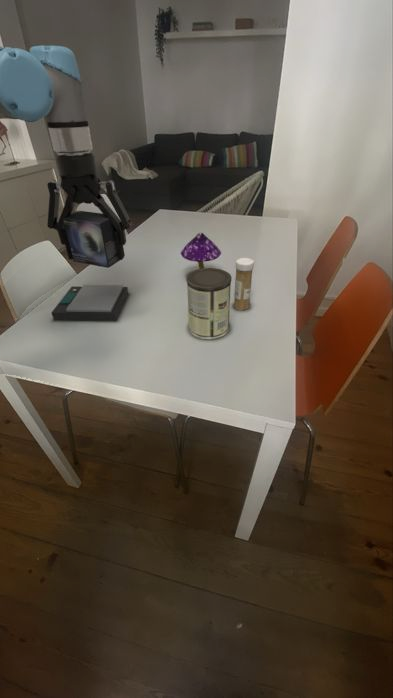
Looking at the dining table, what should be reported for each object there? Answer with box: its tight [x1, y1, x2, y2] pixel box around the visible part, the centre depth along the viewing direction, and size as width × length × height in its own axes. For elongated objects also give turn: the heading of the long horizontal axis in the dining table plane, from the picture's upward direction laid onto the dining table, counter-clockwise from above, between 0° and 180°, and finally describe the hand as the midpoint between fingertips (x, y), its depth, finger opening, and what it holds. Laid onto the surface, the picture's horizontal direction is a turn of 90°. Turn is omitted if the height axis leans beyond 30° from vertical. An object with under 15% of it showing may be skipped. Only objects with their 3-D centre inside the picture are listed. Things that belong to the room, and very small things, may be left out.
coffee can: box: [185, 267, 232, 340], centre depth 77 cm, size 10×10×14 cm
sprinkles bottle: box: [233, 257, 255, 311], centre depth 85 cm, size 5×5×14 cm
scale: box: [50, 284, 130, 322], centre depth 89 cm, size 17×15×3 cm
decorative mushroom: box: [180, 232, 222, 269], centre depth 98 cm, size 12×12×15 cm
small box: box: [62, 210, 121, 269], centre depth 74 cm, size 11×6×10 cm, turn 67°
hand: (97, 257), depth 77 cm, fingers closed on small box, 11 cm apart
